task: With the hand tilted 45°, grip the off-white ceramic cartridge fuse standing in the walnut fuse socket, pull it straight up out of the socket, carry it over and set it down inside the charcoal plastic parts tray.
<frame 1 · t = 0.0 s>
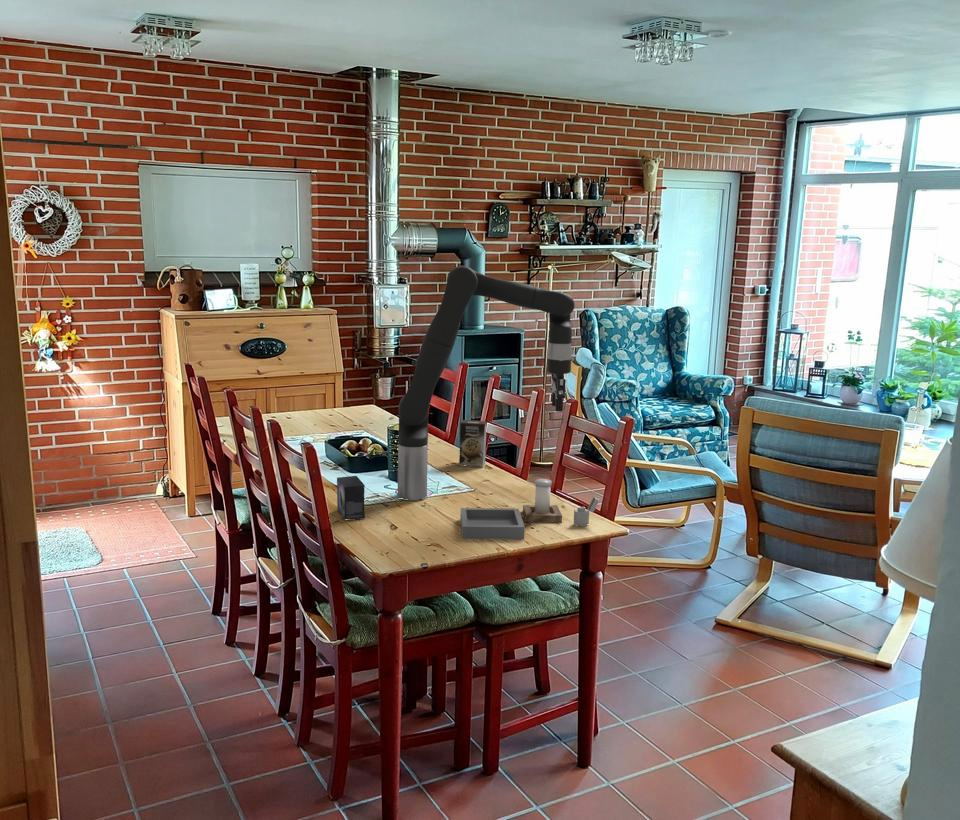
hand: (557, 408, 279), 29 cm above the table, tool pointing down, fingers open, 8 cm apart
fuse socket: (541, 516, 265), on the table
coffee box: (472, 465, 324), on the table
small box: (350, 515, 262), on the table
parts tray: (491, 529, 252), on the table
fuse: (542, 498, 264), in the fuse socket
lighter: (585, 525, 259), on the table
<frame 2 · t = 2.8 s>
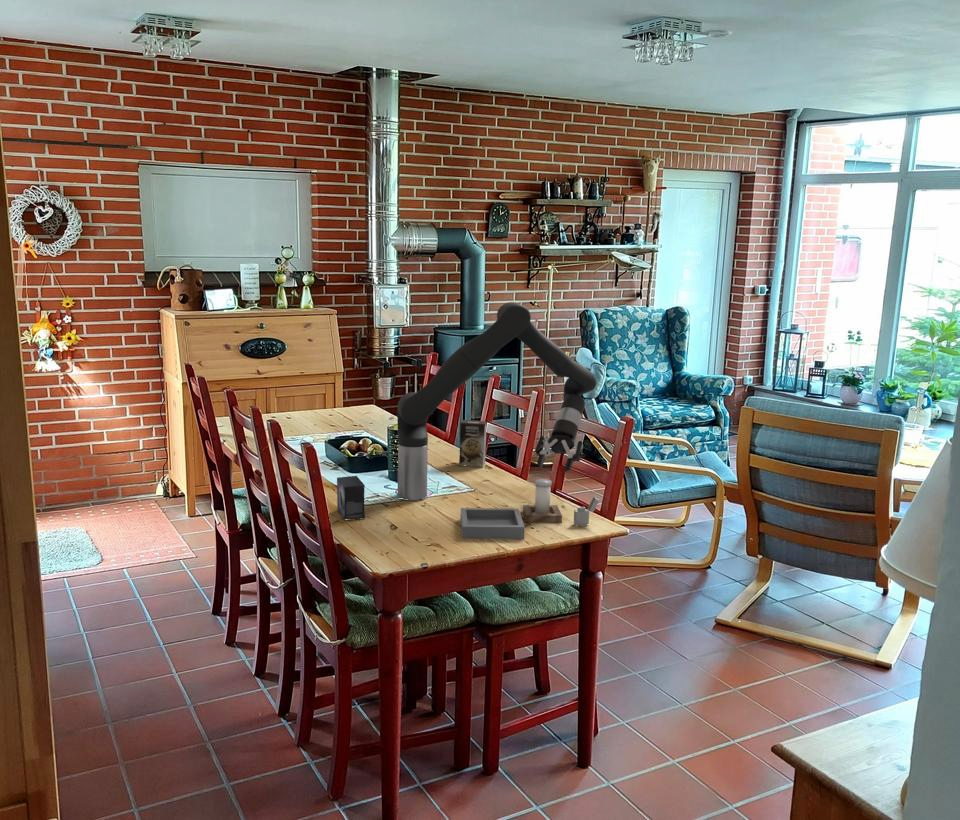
hand: (552, 468, 270), 13 cm above the table, tool tilted 45°, fingers open, 8 cm apart
nothing on the table moved.
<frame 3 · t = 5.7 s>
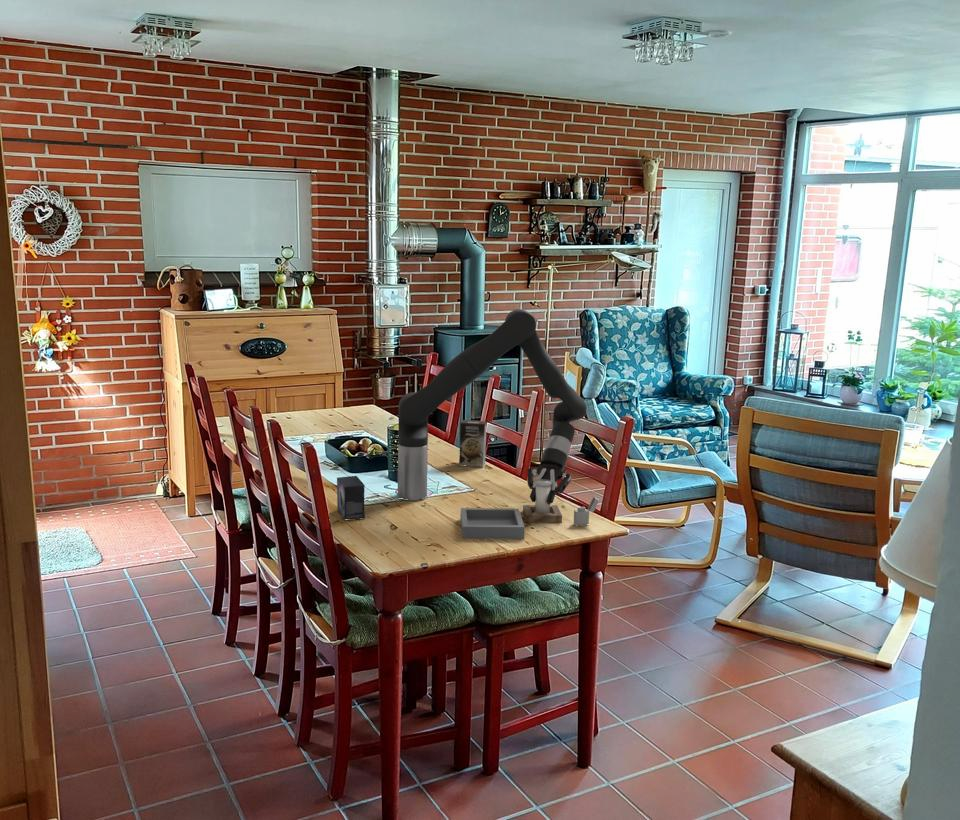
hand: (540, 501, 262), 5 cm above the table, tool tilted 45°, fingers closed on fuse, 4 cm apart
fuse: (542, 498, 264), in the fuse socket, touching gripper
everything else where it was.
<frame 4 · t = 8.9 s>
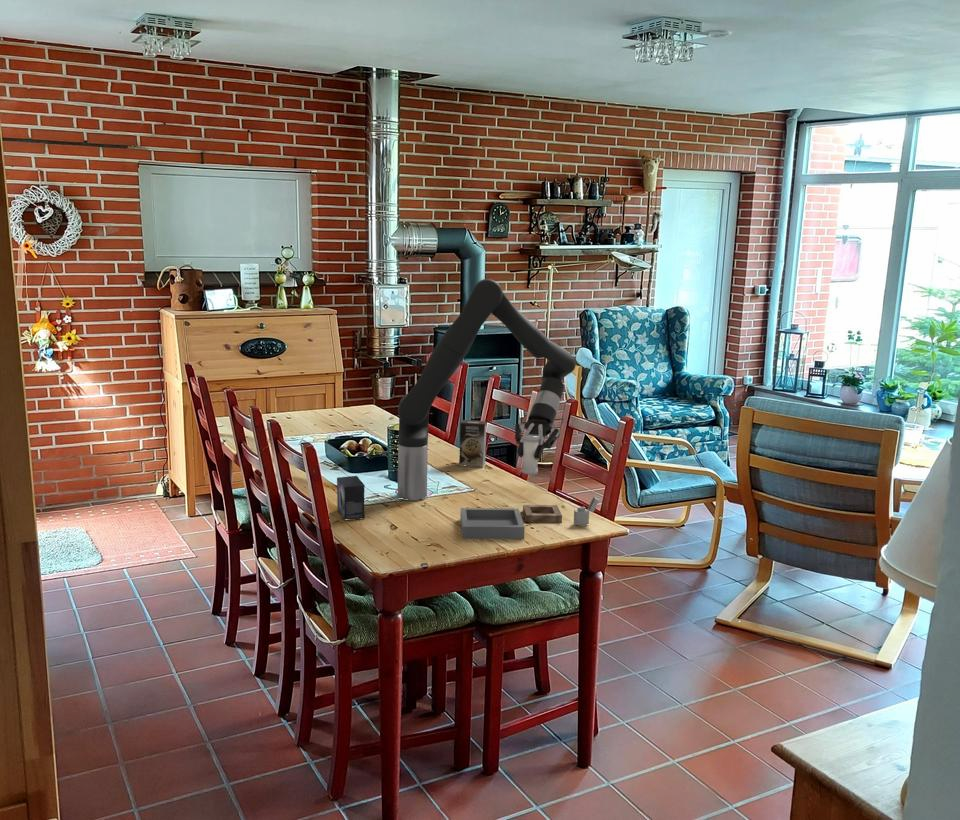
hand: (528, 456, 256), 20 cm above the table, tool tilted 45°, fingers closed on fuse, 4 cm apart
fuse: (530, 453, 258), point 20 cm above the table, touching gripper
everything else where it was.
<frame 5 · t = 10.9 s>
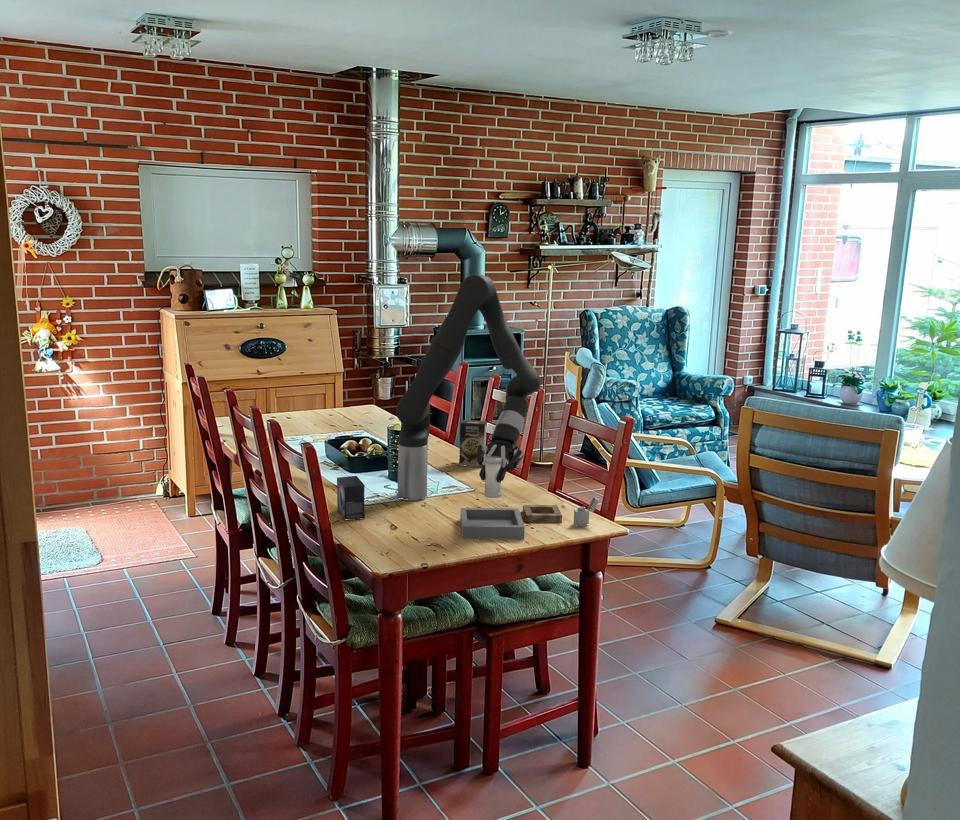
hand: (490, 479, 248), 15 cm above the table, tool tilted 45°, fingers closed on fuse, 4 cm apart
fuse: (493, 476, 249), point 15 cm above the table, touching gripper
everything else where it was.
when the fingers open (8 cm above the table, at t = 12.6 s): fuse drops 1 cm, resting on parts tray.
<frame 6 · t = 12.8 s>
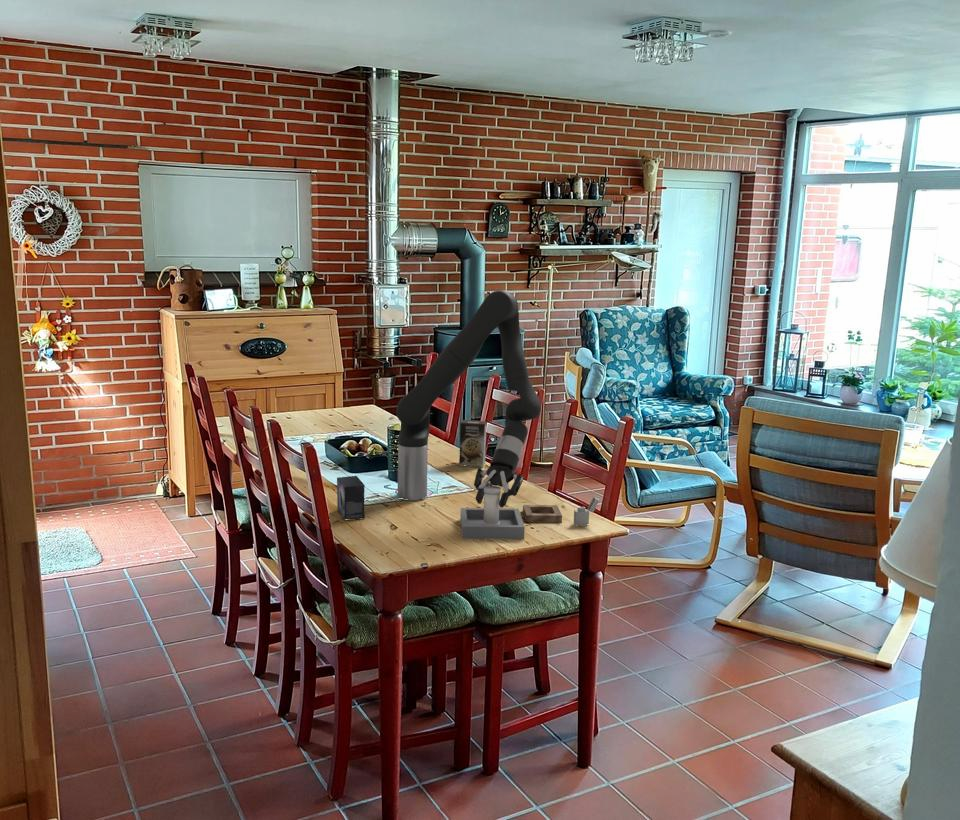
hand: (489, 504, 249), 8 cm above the table, tool tilted 45°, fingers open, 6 cm apart
fuse: (491, 507, 251), in the parts tray, point 6 cm above the table
everything else where it was.
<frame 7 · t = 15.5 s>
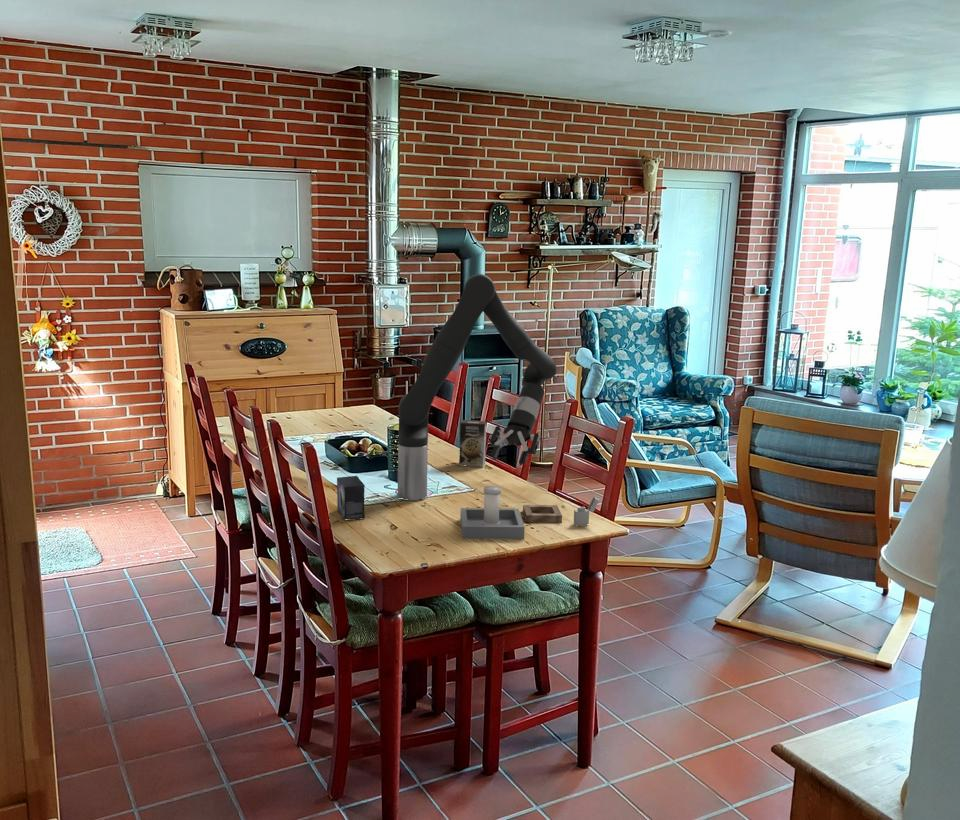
hand: (507, 461, 261), 17 cm above the table, tool tilted 40°, fingers open, 8 cm apart
nothing on the table moved.
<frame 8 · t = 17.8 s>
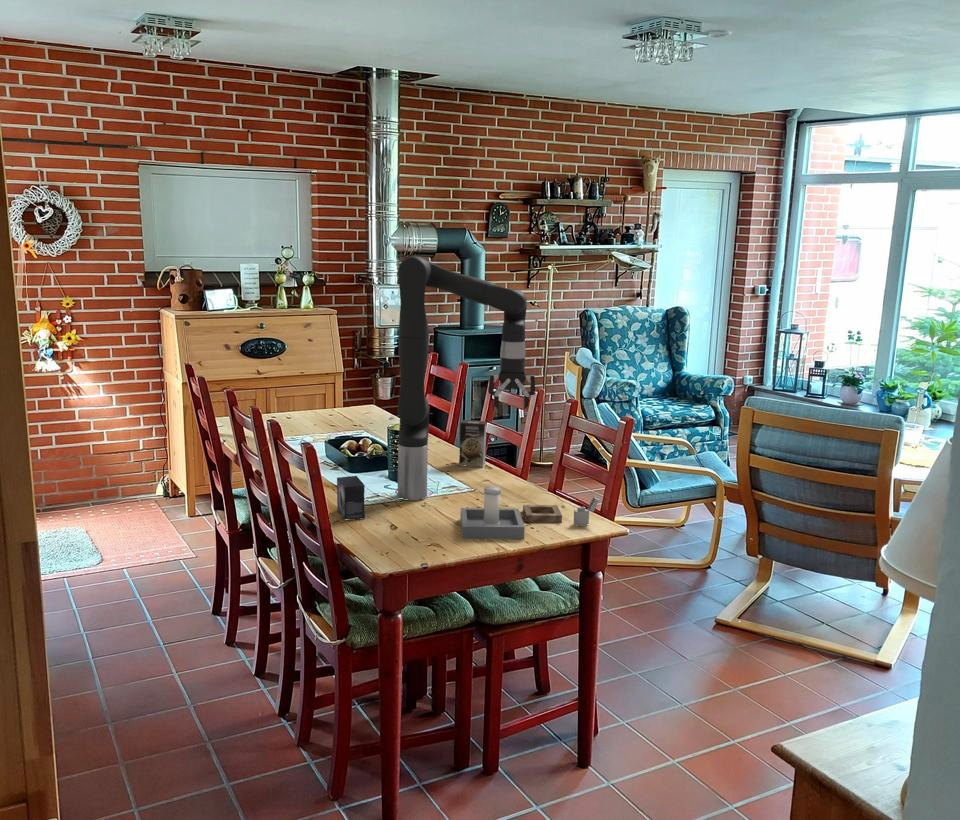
hand: (511, 408, 273), 30 cm above the table, tool pointing down, fingers open, 8 cm apart
nothing on the table moved.
at the end: fuse inside the target area on the parts tray (0.1 cm from its centre), point 6.5 cm above the parts tray's base; fuse moved 20.0 cm from its start; the gripper is holding nothing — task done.
